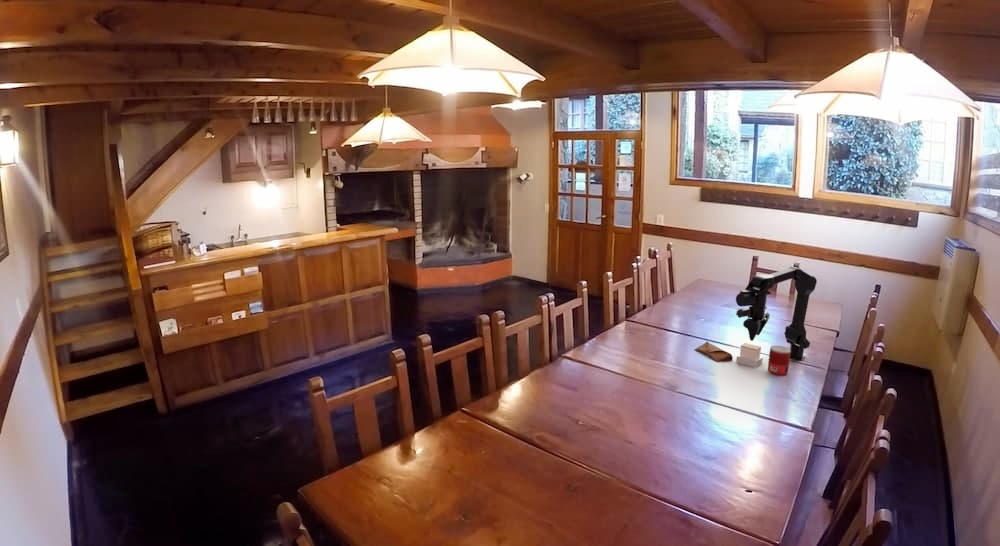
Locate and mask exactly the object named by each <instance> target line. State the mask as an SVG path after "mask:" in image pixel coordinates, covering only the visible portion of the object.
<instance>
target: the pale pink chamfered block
mask: <svg viewBox="0 0 1000 546" xmlns="http://www.w3.org/2000/svg"><path fill="white" fill-rule="evenodd" d="M763 359H764V357H763V356H760V357H759V358H758V359H757V360H753V359H749V358H745V357H741V356H740V353H739V354H738V355H736V359H735V362H736V363H737V364H741V365H744V366H749V367H752V368H755V369H756V368H758V367H759V366H761V365H762V364H763Z"/></svg>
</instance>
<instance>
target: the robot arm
mask: <svg viewBox="0 0 1000 546" xmlns="http://www.w3.org/2000/svg"><path fill="white" fill-rule="evenodd" d="M791 279H792V280H793V281H794V289H795V290H796V298H795V299H796V300H795V304H794V310H793V315H792V320H791V323H790V324H789V325H786V326H785V331H784V334H783V335H784V337H785V340H786V343H788V344H790V347H789V349H790V350H791V353H790V359H792V360H795V361H800V362H801V361H803V360H804V359H806V355H804V352H805V350H806V349H808V348H810V346H811V342H810V341H809V340H808V339H807V330H806V328H805V320H806V315H807V311H808V309H807V308H808V305H809V299H810V295H811V294H812V293H813V292H814V291H815V290H816V287H817V286H816V285H817V283H818V279H817V278H816V277H815V276H814V275H810V274H809V273H807V272H805V271H804V270H802V269H801V268H799V267H795V266H789V267H788V268H785V269H783V270H778V271H775V272H773V273H770V274H756V275H754V276H752V279H751V280H750V281H749V283H748V284H747V286H746V288H745V289H744V290H740V291H739V293H738V294H737V295H736V297H735V302H736V304H737V306H739V307H741V308H738V309H737V310H736V313H735V315H736V316H737V317H738V318H739V319H740V318H745V317H747V319H745V320H744V321H743V325H742V326H743V327H744V328H746V330H747V331H748V335H749V336H748V337H749V340H750V341H752V342H753V341H754V340H755V338H756V336H760V334H761V333H762V331H763V329H764V328H765V327H766V325H767V323H768V321H769V319H770V316H771V314H770V313H769V312H767V311H766V310H767V306H766V304H767V296H768V295H771V294H772V292H770V289H772V288H773V287H774V286H775V285H777V284H779V283H783V282H786V281H788V280H791Z"/></svg>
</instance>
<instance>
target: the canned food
mask: <svg viewBox="0 0 1000 546" xmlns="http://www.w3.org/2000/svg"><path fill="white" fill-rule="evenodd" d="M790 353H791V350H790V347H789V348H788V347H786V346H782V345H772V346H770V350H769V357H768V364H767V371H768V373H770V374H771V375H774V376H778V377H779V376H780V377H781V376H787V375H788V372H789V367H790V366H789V365H790V359H791V358H790Z"/></svg>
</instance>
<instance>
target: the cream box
mask: <svg viewBox="0 0 1000 546" xmlns="http://www.w3.org/2000/svg"><path fill="white" fill-rule="evenodd" d="M761 351H762V346H759V345H756V344H750V343H747V342H745V343H742V344H741V345H740V351H739V354H740V356H741V357H745V358H749V359H753V360H757V359H758V358H759V357H761Z"/></svg>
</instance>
